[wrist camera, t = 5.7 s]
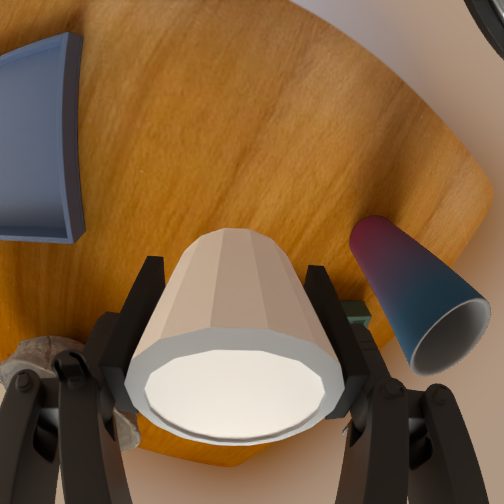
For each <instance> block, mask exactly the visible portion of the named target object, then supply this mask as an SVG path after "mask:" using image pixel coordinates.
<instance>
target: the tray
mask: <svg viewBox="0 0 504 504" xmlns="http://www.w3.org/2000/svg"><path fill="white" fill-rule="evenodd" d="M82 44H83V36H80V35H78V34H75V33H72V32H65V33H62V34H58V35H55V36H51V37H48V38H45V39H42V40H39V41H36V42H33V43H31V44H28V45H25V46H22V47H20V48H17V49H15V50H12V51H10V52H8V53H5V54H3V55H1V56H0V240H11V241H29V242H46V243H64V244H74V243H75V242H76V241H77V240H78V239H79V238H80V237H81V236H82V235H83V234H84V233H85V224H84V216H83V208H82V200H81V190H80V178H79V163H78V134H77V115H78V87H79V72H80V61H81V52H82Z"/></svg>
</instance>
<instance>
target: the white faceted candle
mask: <svg viewBox="0 0 504 504" xmlns="http://www.w3.org/2000/svg"><path fill="white" fill-rule="evenodd" d="M124 385H125V387H126V389H127V392H128V394H129V396H130V399H131V401H132V403H133V406H134V407H135V408H136V409H137V410H138V411H140V412H141V413H142V414H143V415H144V416H145V417H146V418H148V419H149V420H150V421H151V422H152V423H153V424H155V425H156V426H158V427H160V428H163V429H165V430H167V431H169V432H171V433H173V434H176V435H178V436H180V437H182V438H186V439H190V440H194V441H199V442H204V443H209V444H214V445H255V444H261V443H267V442H272V441H277V440H282V439H285V438H287V437H290V436H292V435H295V434H297V433H300V432H302V431H304V430H307V429H309V428H311V427H313V426H314V425H315V424H316V423H318V422H319V421H320V420H321V419H323V418H324V417H325V416H327V415H328V414H329V413H330V412H332V411H333V410H334V408H335V406H336V404H337V402H338V401H339V399H340V397H341V395H342V393H343V391H344V389H345V387H344V381H343V375H342V370H341V365H340V363H339V361H338V358H337V356H336V354H335V352H334V350H333V348H332V346H331V344H330V342H329V339H328V337H327V335H326V333H325V331H324V329H323V327H322V325H321V323H320V321H319V319H318V317H317V315H316V313H315V311H314V309H313V307H312V304H311V302H310V300H309V298H308V296H307V294H306V292H305V290H304V288H303V286H302V284H301V282H300V280H299V278H298V276H297V274H296V272H295V270H294V268H293V266H292V264H291V262H290V260H289V259H288V257H287V255H286V254H285V252H284V251H283V250H282V249H281V248H280V247H279V246H278V245H277V244H276V243H275V242H274V241H273V240H272V239H271V238H269V237H267V236H264V235H262V234H260V233H257V232H255V231H253V230H251V229H237V228H223V229H220V230H217V231H214V232H211V233H208V234H205V235H202V236H200V237H199V238H198V239H197V240H196V241H195V242H194V243H192V244H191V245H190V246H189V247H188V248H187V249H186V250H185V251H184V252H183V254H182V256H181V258H180V260H179V262H178V264H177V266H176V268H175V270H174V272H173V274H172V276H171V278H170V280H169V282H168V284H167V285H166V287H165V289H164V291H163V294H162V296H161V298H160V300H159V302H158V304H157V306H156V308H155V310H154V312H153V314H152V316H151V318H150V320H149V322H148V324H147V327H146V329H145V331H144V333H143V335H142V337H141V339H140V342H139V344H138V346H137V348H136V350H135V353H134V355H133V357H132V359H131V362H130V365H129V369H128V372H127V376H126V379H125V383H124Z"/></svg>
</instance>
